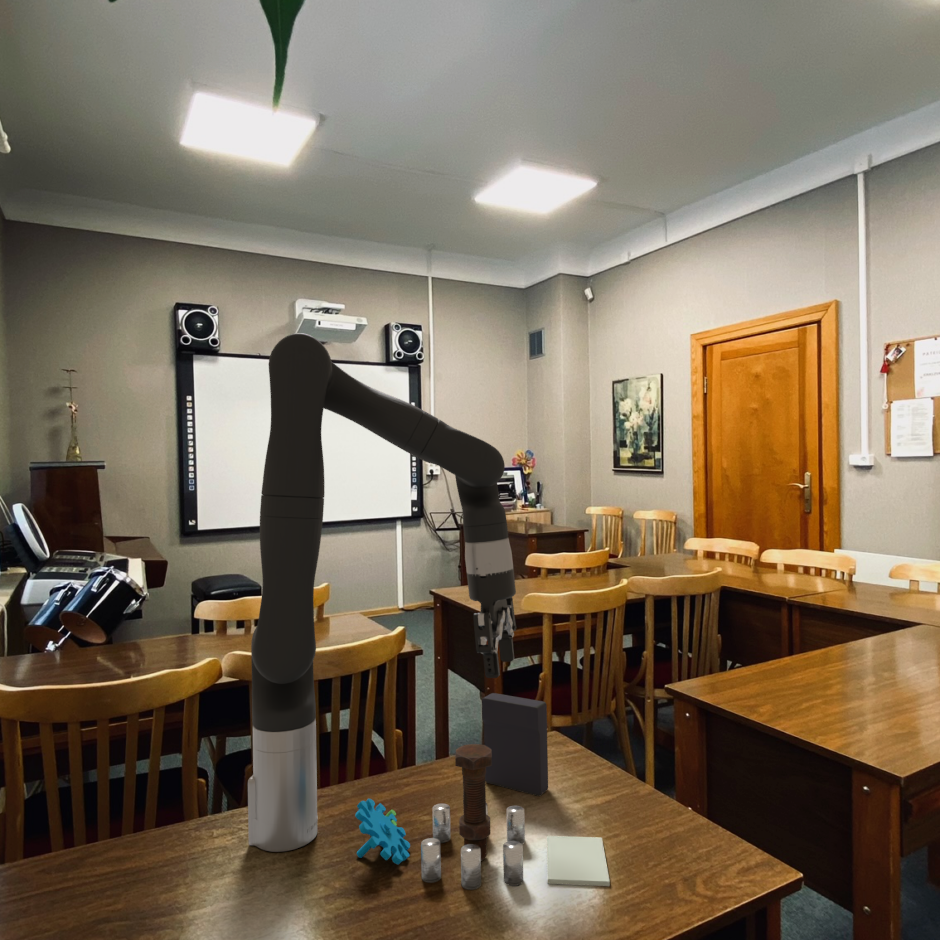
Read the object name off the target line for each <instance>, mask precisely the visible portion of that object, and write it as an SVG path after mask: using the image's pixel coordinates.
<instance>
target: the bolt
mask: <svg viewBox="0 0 940 940" xmlns="http://www.w3.org/2000/svg"><path fill="white" fill-rule="evenodd" d="M454 761H455V766H456V767H458V768H461V774H462V789H463V790H462V791H463V792H462V797H463V798H462V799H463V801H462V802H463V804H462V805H463V807H462V809H463V810H462V811H463V814H462V815H461V816H460V817H459V826H458V828H459V831H458V832H459V836H460V837H462V838H463V846H464V845H467V844H475V845H478V846H479V847H480V849H481V861H483V860H485V859H486V858H487V856H488V852H487V851H488V849H487V847H488V846H487V845H488V844H487V841H488V840H487V838H488V837H489V836H490V835H491V817H490V816H489V814H488V815H487V814H486V803H487V797H486V795H487V794H486V792H487V791H486V790H487V789H486V788H487V787H486V781H485V774H486V767H488V766H492V751H491V749H490V748H489V747H487V746H485V745H484V744H479V743H472V744H470V743H469V744H462V745H461V746H459V747H458V748H456V749H455V760H454Z"/></svg>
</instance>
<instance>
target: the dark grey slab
mask: <svg viewBox="0 0 940 940" xmlns="http://www.w3.org/2000/svg"><path fill="white" fill-rule="evenodd" d="M547 706H548V705H547V703H546V702H545V701H542V700H536V699H532V698H531V699H530V698H525V697H519V696H515V695H514V696H512V695H509V694H503V693H502V694H501V693H496V692H492V693H490V694H488V695H486V696H484V697H483V698H481V720H482V722H483V733H484V735H483V737H484V738H483V740H484V743H483V745H485V746H487V747H489V748H490V749H491V751H492V766H488V767H486V774H485V782H486V783H487V784H491V785H494V786H497V787H502V788H505V789H510V790H514V791H518V792H522V793H525V794H530V795H533V794H534V796H537V795H538V796H537V797H541V796H542V795H543V794H544V793H545V792H546V791H548V789H549V763H548V762H549V761H548V759H549V758H548V757H549V756H548V755H549V753H548V751H549V750H548V715H547V714H548V710H547V709H548V708H547ZM486 783H485V784H486Z"/></svg>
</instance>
